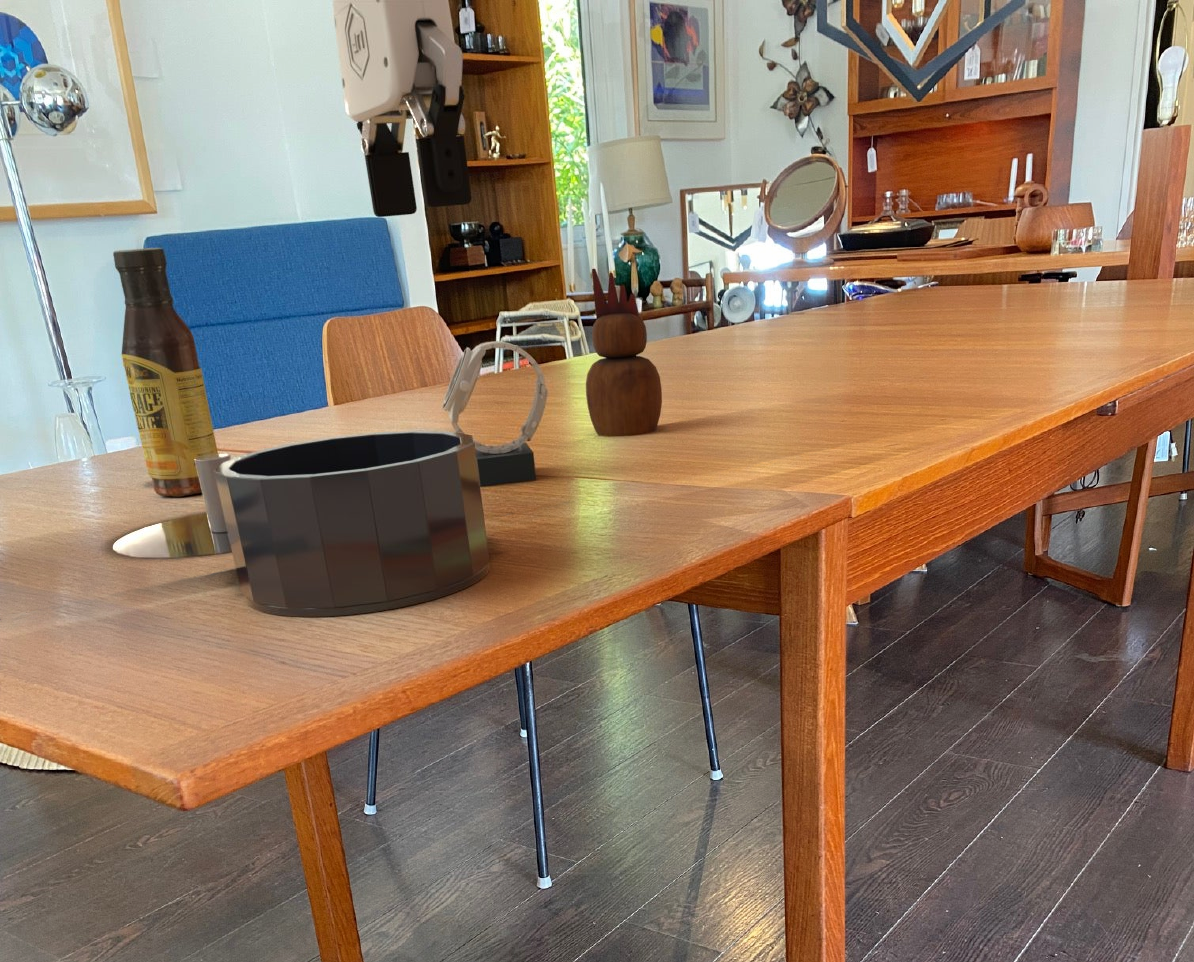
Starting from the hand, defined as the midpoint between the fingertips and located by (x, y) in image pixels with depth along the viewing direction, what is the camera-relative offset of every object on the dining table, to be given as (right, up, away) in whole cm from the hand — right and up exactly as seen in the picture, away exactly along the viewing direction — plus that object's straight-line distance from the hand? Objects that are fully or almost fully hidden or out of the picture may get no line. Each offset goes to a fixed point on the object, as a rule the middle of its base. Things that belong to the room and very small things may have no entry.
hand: (421, 210), depth 82 cm
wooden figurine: (+15, -8, +27) cm, 32 cm away
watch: (+5, -17, +10) cm, 21 cm away
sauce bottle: (-24, -14, +23) cm, 36 cm away
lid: (-14, -23, +1) cm, 26 cm away
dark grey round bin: (-1, -28, -12) cm, 30 cm away
